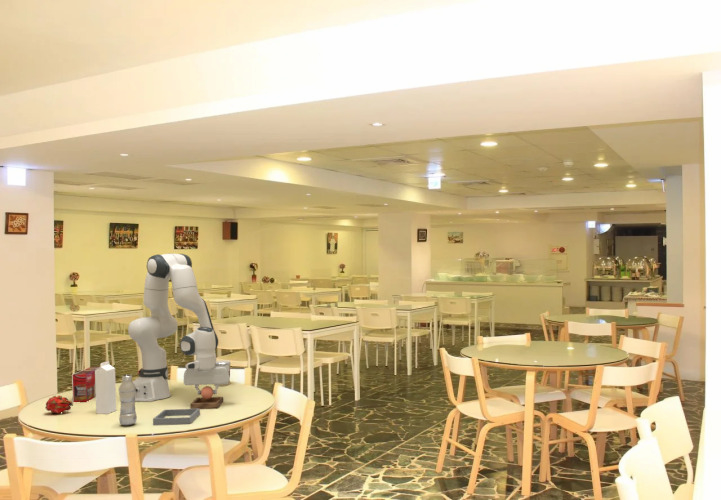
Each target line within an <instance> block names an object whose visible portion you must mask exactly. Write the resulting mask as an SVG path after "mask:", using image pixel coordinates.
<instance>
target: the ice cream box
mask: <svg viewBox="0 0 721 500" xmlns="http://www.w3.org/2000/svg"><path fill="white" fill-rule="evenodd" d="M99 367H100V366H89V367H87V368H84V369H82V370H80V371H78V372H77V371H76V372H75V373H73V374H71V385H72V403H73V402H80V403H88V402H90V401H91V400H93V399H96V390H95V370H96V369H98V368H99ZM89 400H90V401H89ZM87 401H88V402H87Z"/></svg>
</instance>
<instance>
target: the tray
mask: <svg viewBox="0 0 721 500" xmlns="http://www.w3.org/2000/svg"><path fill="white" fill-rule="evenodd" d="M222 404H224V396H212V397H211V398H209V399H205V398H203V397H196V398H195V399H194V400H193V401H192V402H190V404H189V406H190V408H189V409H200V410H208V409H210V410H211V409H212V410H213V409H219V408H220V407H221V405H222Z"/></svg>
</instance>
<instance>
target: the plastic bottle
mask: <svg viewBox="0 0 721 500" xmlns="http://www.w3.org/2000/svg"><path fill="white" fill-rule="evenodd" d="M132 375H133V374H123V375H121V381H122V382H121V384H120V385H119V387H118V393H119V400H120V412H119V416H118V417H119V418H118V421H119V424H120V425H121V426H132V425H134V424H136V422H137V419H138V416H137V412H136V401H135V393H136V386H135V384H134V383H133V381H132V380H133V376H132Z"/></svg>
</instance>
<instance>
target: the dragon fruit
mask: <svg viewBox="0 0 721 500" xmlns="http://www.w3.org/2000/svg"><path fill="white" fill-rule="evenodd" d="M71 407H74V403H73V401H71V400H69V399H68V397H63V396H62V395H53V396H52V397H49V399H47V401H46V402H45V408H44V409H45V410H46V411H48V412H51V414H52V413H54V414H60V413H61V412H63V413H64V412H67V411H70V410H71V409H72V408H71Z"/></svg>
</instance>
